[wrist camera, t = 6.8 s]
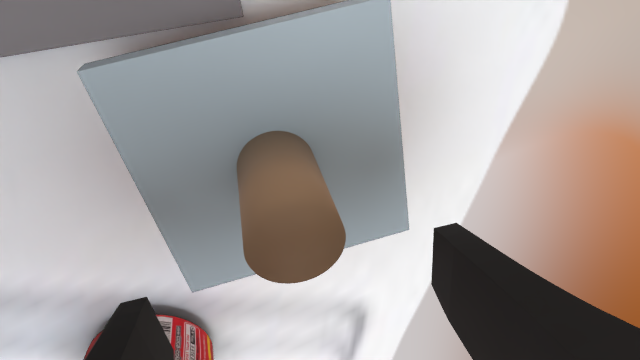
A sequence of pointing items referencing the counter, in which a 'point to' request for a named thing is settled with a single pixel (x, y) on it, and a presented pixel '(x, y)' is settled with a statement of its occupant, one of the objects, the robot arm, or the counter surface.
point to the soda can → (182, 339)
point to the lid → (263, 141)
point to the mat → (98, 20)
